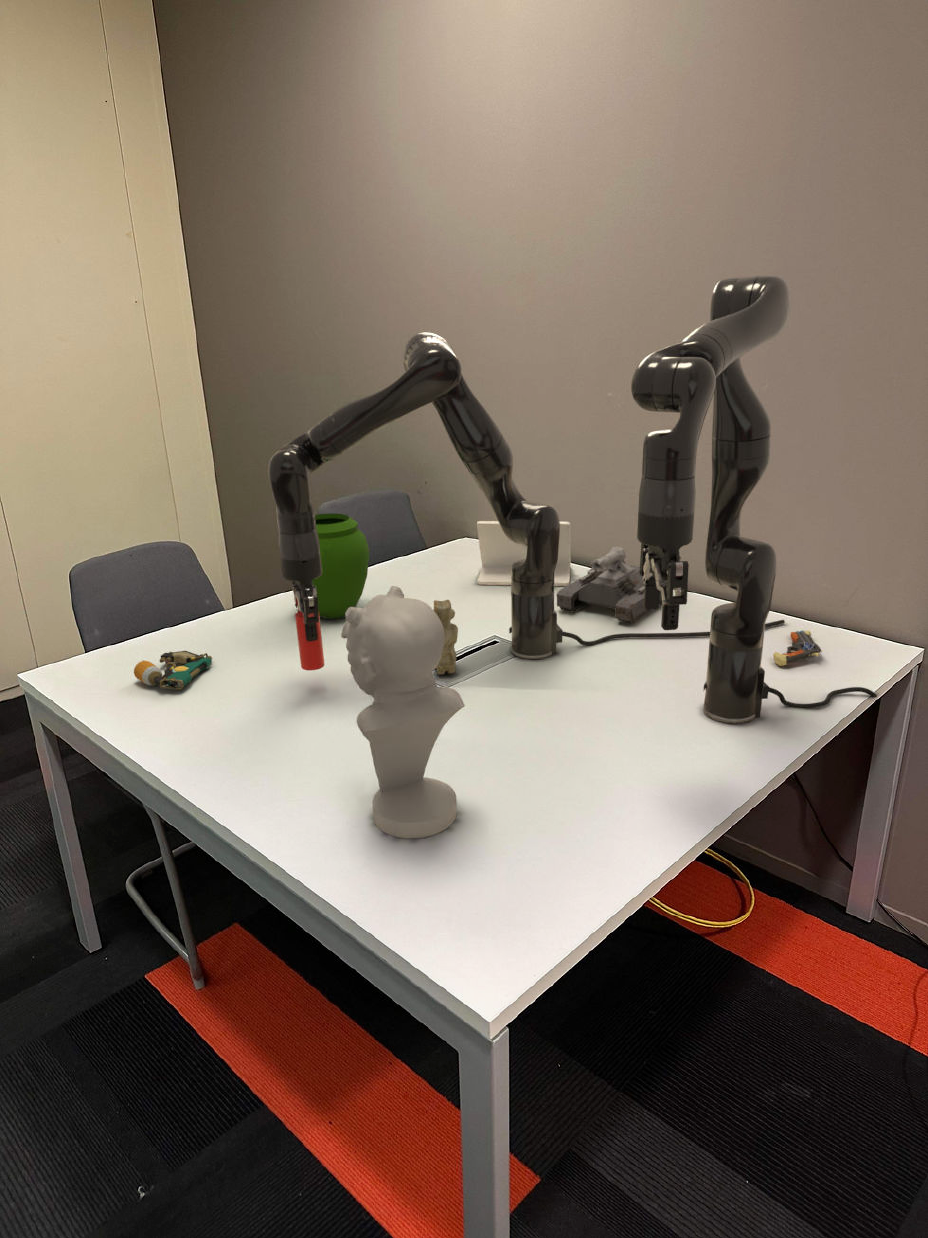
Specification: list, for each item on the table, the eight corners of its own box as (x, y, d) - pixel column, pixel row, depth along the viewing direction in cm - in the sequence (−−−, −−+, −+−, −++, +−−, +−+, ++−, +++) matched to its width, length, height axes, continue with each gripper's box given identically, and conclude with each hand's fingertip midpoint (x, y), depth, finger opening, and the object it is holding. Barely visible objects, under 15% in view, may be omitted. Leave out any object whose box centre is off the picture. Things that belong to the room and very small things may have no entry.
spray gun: (177, 659, 191) (231, 671, 185) (120, 684, 176) (176, 698, 171) (176, 641, 190) (230, 653, 184) (118, 665, 175) (174, 678, 169)
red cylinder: (296, 667, 170) (290, 615, 166) (311, 659, 173) (305, 608, 169) (314, 672, 167) (308, 619, 163) (329, 663, 171) (323, 611, 167)
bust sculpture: (415, 752, 147) (404, 557, 135) (484, 821, 127) (478, 600, 115) (327, 777, 140) (307, 574, 128) (385, 855, 120) (368, 623, 108)
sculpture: (458, 662, 183) (456, 596, 178) (460, 676, 176) (457, 608, 171) (431, 663, 183) (428, 597, 177) (431, 677, 176) (428, 609, 171)
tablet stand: (569, 585, 229) (570, 524, 223) (476, 584, 232) (475, 523, 226) (570, 566, 246) (571, 508, 240) (484, 564, 249) (483, 507, 243)
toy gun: (776, 657, 175) (828, 653, 173) (763, 629, 193) (810, 626, 191) (777, 669, 176) (828, 666, 174) (763, 640, 194) (810, 637, 191)
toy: (603, 584, 229) (605, 530, 224) (673, 597, 218) (677, 540, 213) (555, 612, 210) (556, 553, 205) (630, 627, 199) (633, 566, 194)
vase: (389, 608, 216) (383, 514, 208) (339, 633, 201) (330, 533, 192) (330, 596, 226) (322, 506, 218) (278, 619, 211) (267, 523, 202)
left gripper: (274, 545, 167) (284, 626, 173) (287, 565, 154) (297, 652, 161) (312, 540, 169) (320, 620, 175) (327, 559, 157) (336, 645, 163)
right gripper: (711, 519, 111) (702, 635, 116) (676, 495, 124) (669, 600, 130) (655, 522, 110) (648, 638, 116) (625, 498, 123) (621, 603, 129)
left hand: (309, 635), depth 168 cm, fingers closed on red cylinder, 4 cm apart
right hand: (660, 618), depth 123 cm, fingers open, 8 cm apart
